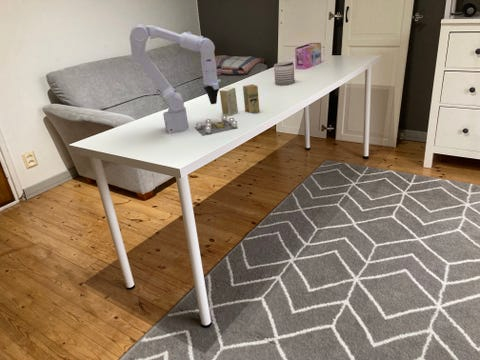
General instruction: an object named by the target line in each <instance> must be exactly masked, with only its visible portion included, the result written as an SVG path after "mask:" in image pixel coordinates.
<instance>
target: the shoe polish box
mask: <svg viewBox="0 0 480 360" xmlns="http://www.w3.org/2000/svg"><path fill="white" fill-rule="evenodd" d="M242 91H243V102H244V112H246V113H249V114H253V115H254V114H259V113H260V102H259V88H258V85H256V84H248V85H243V86H242Z"/></svg>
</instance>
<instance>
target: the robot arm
mask: <svg viewBox="0 0 480 360" xmlns="http://www.w3.org/2000/svg"><path fill="white" fill-rule="evenodd" d="M157 38H159V39H163V40H168V41H170V42H175V43H177V44H179V46H180V48H182V49H186V50H190V51H192V52H196V53H197V52H199V53H200V63H201V70H202V78H203V79H202V80H203V85H204V87H203V90H204V91H205V93H206V95H207V97H208V99H209V102H210V105H216V104H217V102H218V93H219V92H220V89H221V88H220V85H219V83H221V81H222V80H221V79H218V70H217V63H216V57H215V49H216V47H215V44H214V42H213V41H212V40H211V39H209V38H208V37H204V36H203V35H200V36H199V35H196V34H193V33H192V32H191V31H187V32H186V31H184V32H182V33H181V34H179V33H177V32H174V31H171V30H169V29H166V28H162V27H159V26H156V25H150V24H146V25H145V24H144V23H137V24H135V25H134V26H133V27H132V28H131V30H130V34H129V42H130V50H131V51H130V53H131V56H132V57H133V59H134V60H135V61H136V63H137V64H138V65H139V66H140V67H141V69H142V70H143V71H144V73H145V74H146V75H147V76H148V78H149V79H150V80H151V81H152V83H153V84H154V85H155V87H156V88H157V90H159V91H160V93H161V94H162V96H163V98H164V100H166V102H167V107H168V109H167V111H165V112H163V114H162V115H163V120H164V127H165V130H166V132H167V133H168V134H173V133H179V132H185V131H187V130H189V129H190V127H189V122H188V121H189V120H188V116H187V109H186V107H185V104H184V103H185V102H184V96H183V95H182V93H181V92H180V91H179V92H178V91H177V90H176V89H175V88H174V87H173V86H172V85H171V83H170V82H169V81H168V80H167V78H166V77H165V75H163V74H162V72H161V71H160V69H158V67H157V66H156V64H155V63H154V61H152V59H151V58H150V57H149V55H148V54H147V53H146V46H147V41H148V39H150V40H154V39H157Z"/></svg>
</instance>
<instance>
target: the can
mask: <svg viewBox="0 0 480 360" xmlns="http://www.w3.org/2000/svg"><path fill="white" fill-rule="evenodd" d="M294 61H295V60H293V61H292V60H291V61H290V60H289V61H288V60H287V61H283V62H277V63H274V64H273V68H274V69H273V70H274V73H273V74H274V85H275V86H278V87H285V86H286V87H287V86H292V85H294V84H295V82H296V81H295V63H294Z"/></svg>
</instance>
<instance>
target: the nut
mask: <svg viewBox="0 0 480 360" xmlns="http://www.w3.org/2000/svg"><path fill="white" fill-rule="evenodd" d="M214 123H215V124H214V126H215V128H217V129H219V128H224V127H225V126H226V123H225V122H223V121H222V120H221V121H217V122H214Z"/></svg>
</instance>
